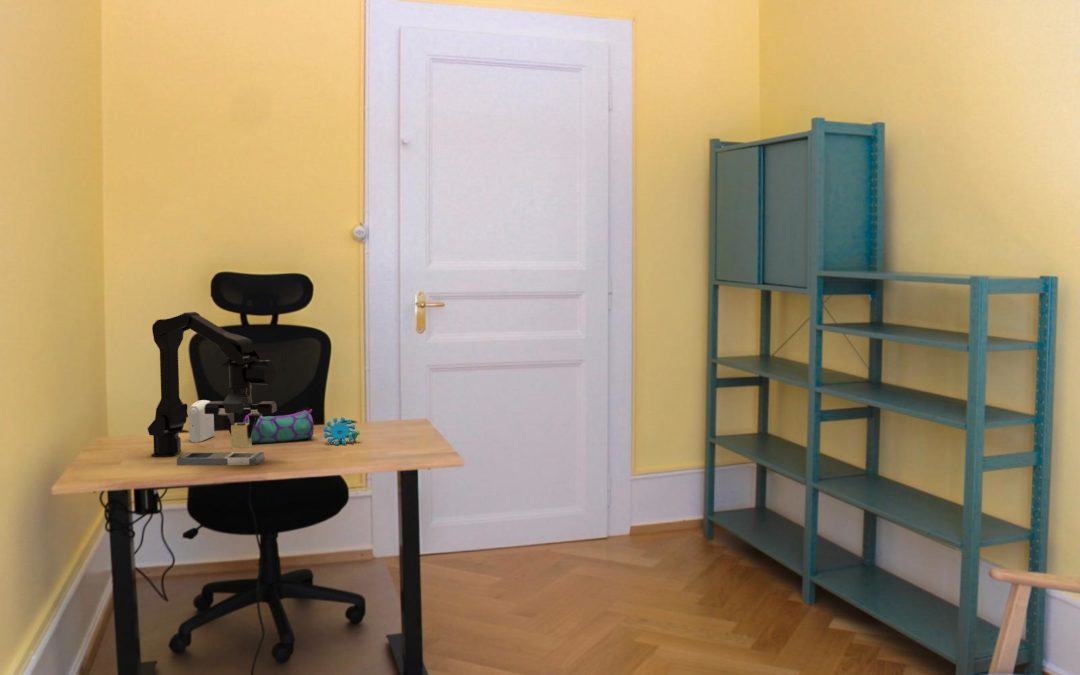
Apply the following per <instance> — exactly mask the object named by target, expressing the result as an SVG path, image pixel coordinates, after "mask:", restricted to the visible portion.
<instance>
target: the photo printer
mask: <svg viewBox="0 0 1080 675" xmlns="http://www.w3.org/2000/svg"><path fill="white" fill-rule="evenodd" d="M209 402H211V400H207V399H201V400H200V399H199V400H197V401H195V402H194V403H192V404H191V405H190V406H189V409H188V430H189V431H188V432H189V436H188V437H189V441H190V442H191V443H200V442H203V441H206V440H208V439H210V438H212V437H214V436H215V420H214V419H215V416H214V415H215V414H205V409H204V408H205V405H206V404H207V403H209Z"/></svg>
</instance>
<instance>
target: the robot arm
mask: <svg viewBox="0 0 1080 675" xmlns="http://www.w3.org/2000/svg"><path fill="white" fill-rule="evenodd" d="M151 328H152V329H151V330H152V336H153V341H154V343H155V345H156V347H157V348H158V350H159V366H160V368H159V369H160V370H159V371H160V372H159V373H160V376H159V377H160V400H159V402H158V404H157V406H156V408H155V417H154V420H153V421H152V422H151V423H150V424H149V426H147V432H148V434H149V436H153V452H152V453H151V456H152V457H174V456H176V455H178V454H179V453H181V452H182V447H181V444H182V443H181V437H180V436H179V432H183V428H184V425H185V424H186V423H187V418H189V413H188V407H189V406H188V404H187V403H184V402H183V401H182V399H181V398H180V374H179V373H180V372H179V370H180V369H179V349H180V346H181V344H182V342H183V340H184V333H185V332H186V331H188V330H191V331H193V332H195V333H196V334H198V335H199V336H201V337H203V338H204V339H206V340H208V341H209V342H211V343H213V344H214V345H216V346H217V347H218V348H219V350H220V352H221V354H223V355H224V356H225V357H227V359H226V361H224V362H223V363H222V367H224V368H228V372H229V378H228V379H229V387H228V393H227V396H226V397H225V399H224V400H215V401H214V400H212V401H211V400H210V402H209V403H207V404H206V405H205V408H204V409H205V414H214V415H216V414H217V413H218V414H217V417H219V418H221V419H222V420H223V421H224V423H225V425H226V426H227V429H228V432H229V434H230V435H231V425H233V424H235V414H242V413H243V412H250V413H251V414H250V415H248V414H247V415H248V416H249V438H251V437H252V434H253V431H254V428H255V425H256V423H257V421H258V419H259V417H260V416H263V415H271V414H274V413H275V412H277V410H278V409H277V408H278V407H277V403H276V401H274V400H272V401H271V400H270V401H269V400H268V401H265V400H264V401H261V402H259V403H257V404H253V399H252V389H253V385H265V386H271V385H273V384H274V383H275V382H276V380H277V376H278V375H277V371H276V367H275V366H274V365H273V364H272V360H270V359H266V360H263V358H261V356H260V354H259V353H258V351H257V349H256V348H255V346H254V342H253V341H252V339H250V338H248V337H246V336H243V335H240V334H236V333H230V332H229V331H227V330H225V329H223V328H222V327H220V326H218V325H216V324H215V323H213V322H211V321H210V320H208V319H207V318H206V317H203V316H202V315H200V314H199V312H196V311H189V312H183V313H182V314H178V315H176V316H173V317H170V318H163V319H161V318H160V319H156V320H155V322H154V323H153V324H152V326H151ZM252 384H253V385H252Z"/></svg>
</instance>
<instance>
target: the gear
mask: <svg viewBox="0 0 1080 675" xmlns="http://www.w3.org/2000/svg"><path fill="white" fill-rule="evenodd" d="M332 420H333V425H332V422H331V421H330V420H329V421H327V422H326V426H324V427H323V429H322V430H323V432H324V433H323V437H324V439H327V442H328V443H329V444H331V443H332V442H334V443H333V444H334V446H339V444H340V442H341V444H342V445H347V440H346V439H348V442H352V441H353V442H354V441H355V442H357V440H356V439H357V438H358V436H360V435H361V434H360V433H361V432H360V430H356V424H352V420H351V419H348V420H347V421H346V418H344V416H343V417H342V416H341V417H340V421H339V422H338V418H337V417H334V418H333V419H332ZM337 422H338V423H337ZM328 427H329V428H328ZM351 429H352V430H351Z"/></svg>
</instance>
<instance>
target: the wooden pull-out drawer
mask: <svg viewBox="0 0 1080 675" xmlns="http://www.w3.org/2000/svg"><path fill="white" fill-rule="evenodd" d="M230 438H231V439H230V441H231V442H230V444H231V449H234V450H236V449H237V450H239V449H241V450H242V449H244V450H247V449H249V448H250V447H252V446H253V443H252V437H251V438H249V423H243V422H234V424H233V425H231V434H230Z"/></svg>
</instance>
